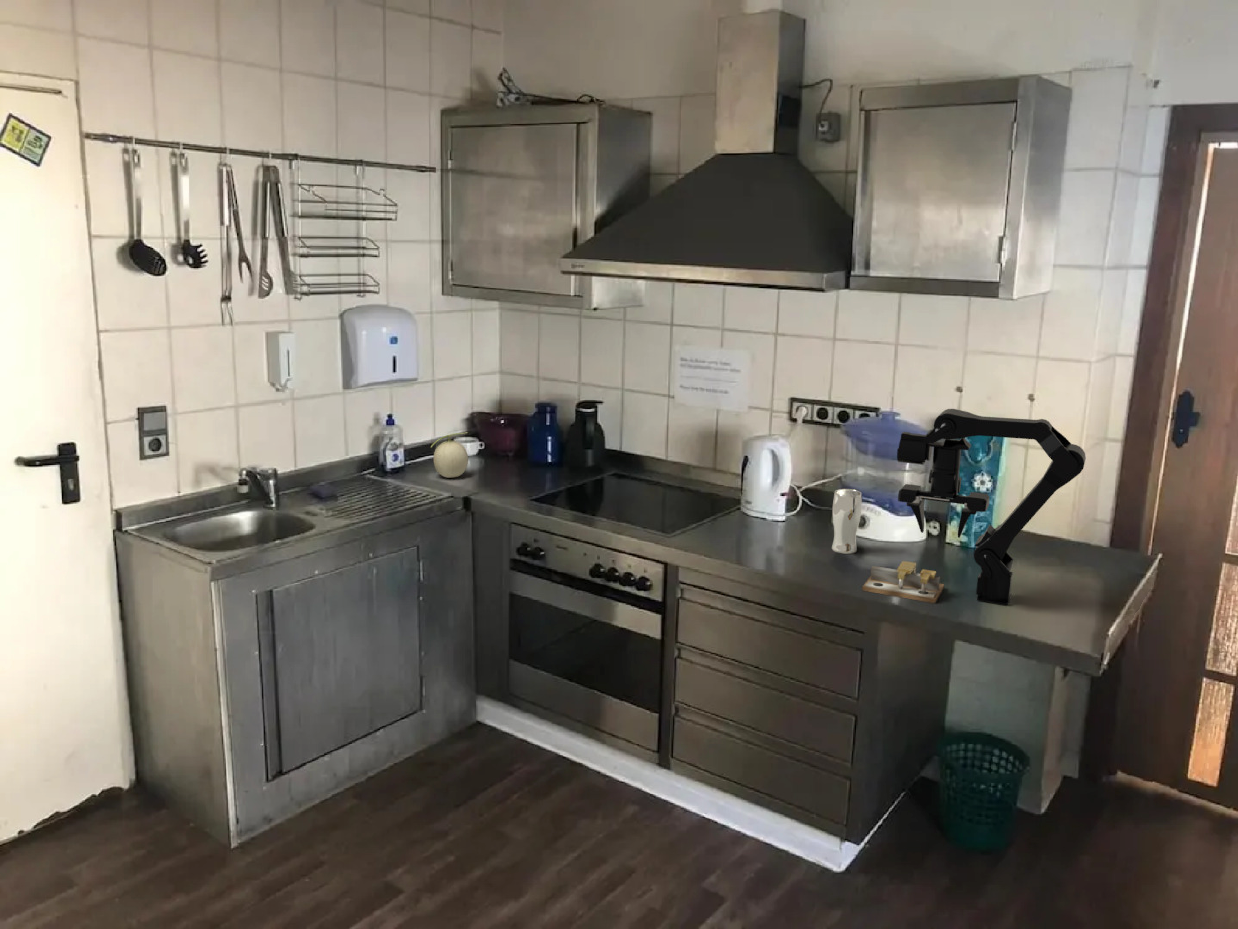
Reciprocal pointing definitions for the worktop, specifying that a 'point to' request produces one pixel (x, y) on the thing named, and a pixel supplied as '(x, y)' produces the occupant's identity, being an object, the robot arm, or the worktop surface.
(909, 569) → the slider
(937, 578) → the board
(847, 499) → the beer glass
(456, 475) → the fruit
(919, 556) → the worktop surface
